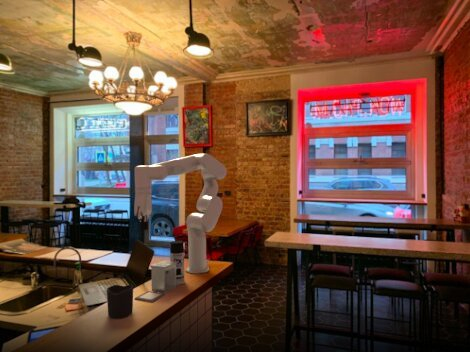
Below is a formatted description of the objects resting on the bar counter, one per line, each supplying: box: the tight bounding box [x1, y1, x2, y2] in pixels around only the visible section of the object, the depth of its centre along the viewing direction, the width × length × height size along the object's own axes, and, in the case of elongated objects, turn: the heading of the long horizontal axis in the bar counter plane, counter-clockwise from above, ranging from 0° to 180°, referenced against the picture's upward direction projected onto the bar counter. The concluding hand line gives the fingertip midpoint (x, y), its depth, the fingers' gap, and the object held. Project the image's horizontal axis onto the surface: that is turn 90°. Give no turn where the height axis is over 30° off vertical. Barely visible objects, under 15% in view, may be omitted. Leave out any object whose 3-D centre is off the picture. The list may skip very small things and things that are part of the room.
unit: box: [150, 259, 177, 295], centre depth 152 cm, size 10×8×12 cm
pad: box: [134, 290, 166, 303], centre depth 142 cm, size 9×9×1 cm
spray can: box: [169, 240, 185, 286], centre depth 161 cm, size 7×7×20 cm
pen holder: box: [106, 284, 134, 320], centre depth 125 cm, size 9×9×10 cm
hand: (144, 229), depth 159 cm, fingers closed
